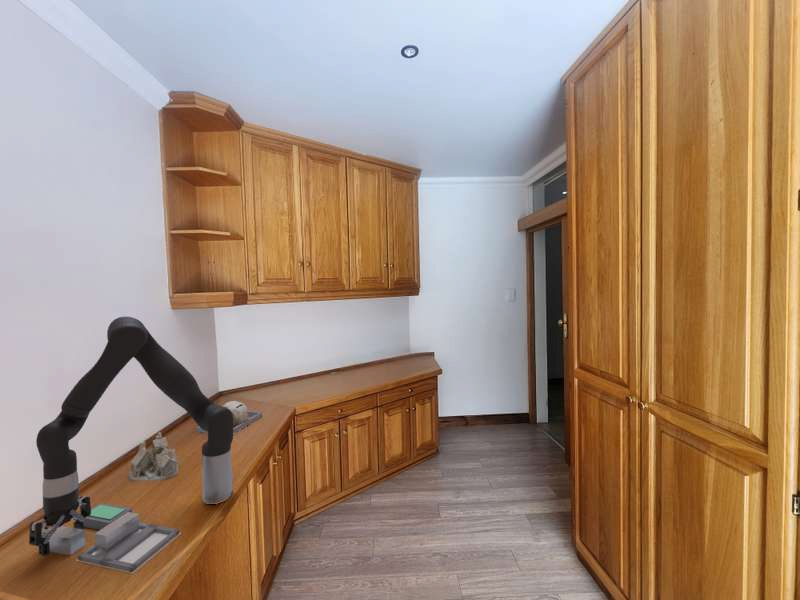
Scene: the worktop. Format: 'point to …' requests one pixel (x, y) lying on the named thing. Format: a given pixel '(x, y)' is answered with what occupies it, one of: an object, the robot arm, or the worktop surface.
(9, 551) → the worktop surface
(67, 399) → the robot arm
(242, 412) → the coin bank
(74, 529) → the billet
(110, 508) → the button
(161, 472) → the ceramic cottage
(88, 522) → the box
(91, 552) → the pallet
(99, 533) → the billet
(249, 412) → the coin bank tray
